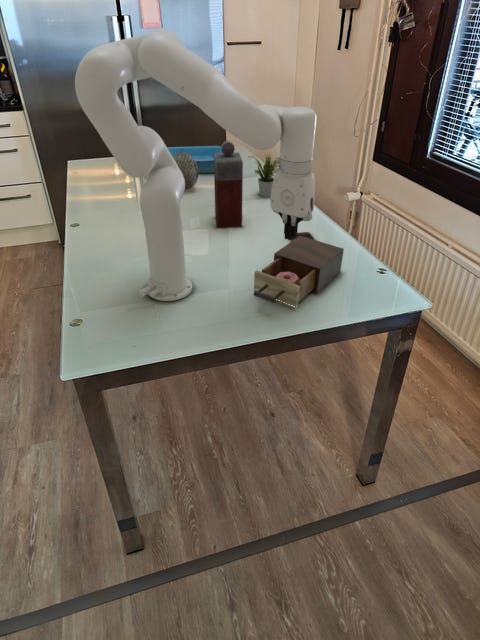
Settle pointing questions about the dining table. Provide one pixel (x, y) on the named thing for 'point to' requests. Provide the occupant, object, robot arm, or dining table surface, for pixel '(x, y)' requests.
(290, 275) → the donut
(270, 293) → the drawer
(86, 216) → the dining table surface
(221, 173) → the toy vending machine
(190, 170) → the decorative egg
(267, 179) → the house plant
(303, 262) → the cabinet
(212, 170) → the casserole dish
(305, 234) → the smartphone
